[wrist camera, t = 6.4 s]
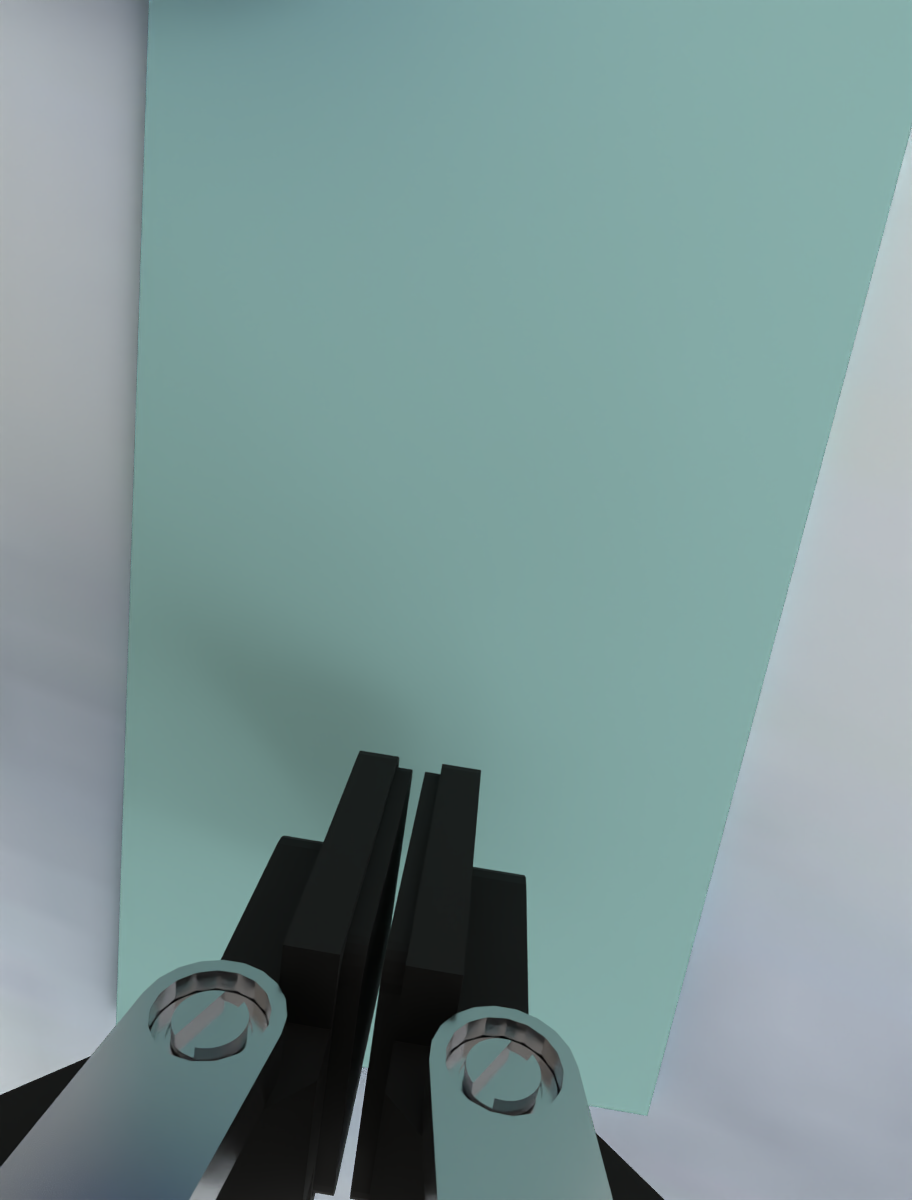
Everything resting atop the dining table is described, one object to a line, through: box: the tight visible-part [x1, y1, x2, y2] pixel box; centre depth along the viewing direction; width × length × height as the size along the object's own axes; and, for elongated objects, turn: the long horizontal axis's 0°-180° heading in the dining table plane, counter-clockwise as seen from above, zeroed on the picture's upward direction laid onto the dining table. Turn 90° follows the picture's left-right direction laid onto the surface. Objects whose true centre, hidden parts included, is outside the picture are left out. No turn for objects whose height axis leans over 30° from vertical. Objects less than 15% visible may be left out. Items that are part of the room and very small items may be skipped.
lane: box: [116, 0, 912, 1116], centre depth 10 cm, size 9×30×1 cm, turn 172°
